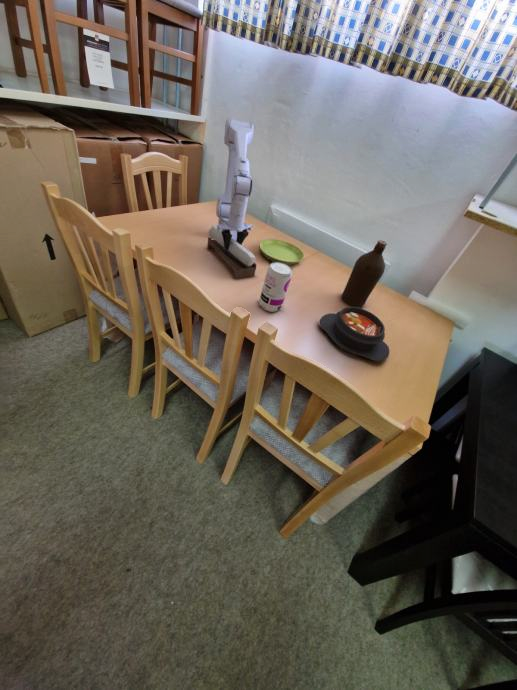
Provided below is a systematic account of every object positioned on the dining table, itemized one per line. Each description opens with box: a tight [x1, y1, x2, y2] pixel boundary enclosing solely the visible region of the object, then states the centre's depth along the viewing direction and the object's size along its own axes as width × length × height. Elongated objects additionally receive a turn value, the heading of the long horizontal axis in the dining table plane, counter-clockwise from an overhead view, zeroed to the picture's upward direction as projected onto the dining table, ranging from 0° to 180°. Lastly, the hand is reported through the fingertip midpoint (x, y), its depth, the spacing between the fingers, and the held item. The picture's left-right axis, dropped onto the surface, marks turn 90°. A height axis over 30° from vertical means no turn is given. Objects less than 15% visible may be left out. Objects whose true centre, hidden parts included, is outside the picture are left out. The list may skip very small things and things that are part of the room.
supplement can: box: [258, 262, 293, 313], centre depth 98 cm, size 8×8×15 cm
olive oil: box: [340, 239, 388, 309], centre depth 110 cm, size 11×11×25 cm
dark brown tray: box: [206, 236, 258, 280], centre depth 118 cm, size 9×24×5 cm, turn 34°
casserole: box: [318, 306, 390, 362], centre depth 96 cm, size 25×19×8 cm
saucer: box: [259, 238, 305, 266], centre depth 132 cm, size 21×21×3 cm
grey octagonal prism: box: [208, 225, 256, 266], centre depth 115 cm, size 5×5×25 cm
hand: (232, 248), depth 115 cm, fingers closed on grey octagonal prism, 5 cm apart
